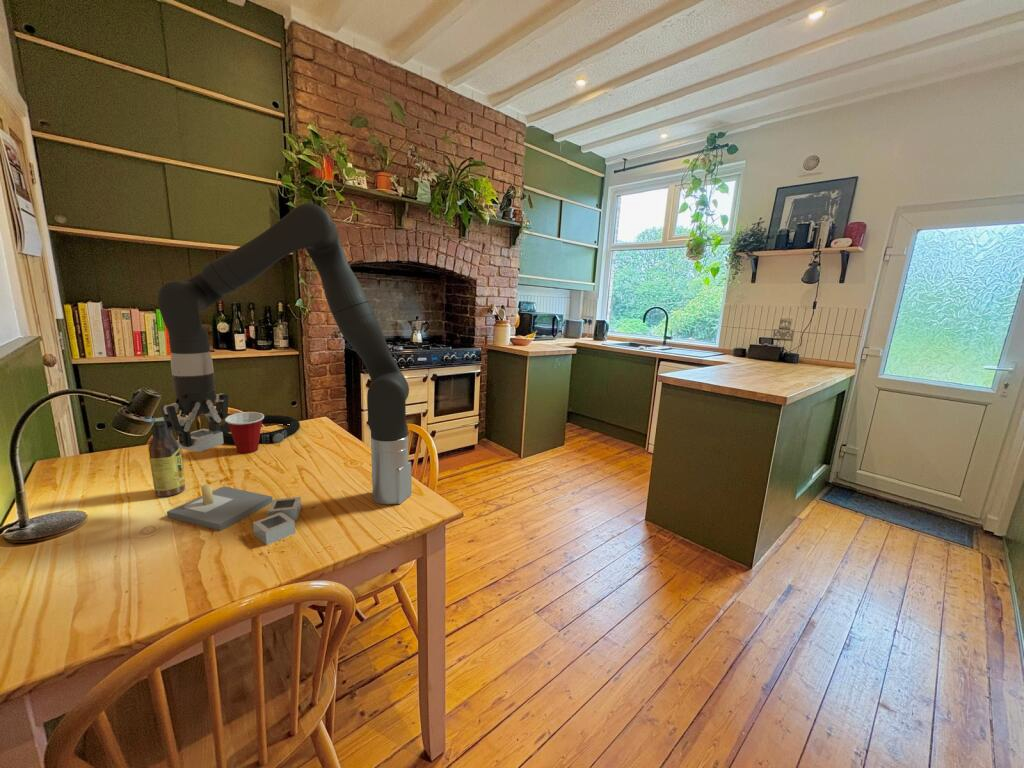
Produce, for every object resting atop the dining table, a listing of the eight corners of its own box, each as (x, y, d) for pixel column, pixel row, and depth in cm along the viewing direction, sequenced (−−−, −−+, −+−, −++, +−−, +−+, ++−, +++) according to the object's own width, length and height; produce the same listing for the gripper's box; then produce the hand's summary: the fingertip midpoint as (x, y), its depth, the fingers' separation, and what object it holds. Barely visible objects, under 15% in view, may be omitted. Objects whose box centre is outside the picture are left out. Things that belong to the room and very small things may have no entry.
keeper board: (272, 501, 104) (270, 480, 103) (220, 530, 91) (217, 505, 90) (224, 491, 108) (222, 470, 107) (167, 517, 95) (164, 493, 94)
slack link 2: (282, 523, 95) (281, 511, 94) (295, 533, 91) (294, 520, 91) (254, 534, 90) (253, 522, 89) (266, 545, 86) (265, 532, 86)
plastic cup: (231, 459, 128) (227, 423, 126) (225, 449, 136) (222, 414, 134) (270, 452, 136) (267, 417, 133) (263, 442, 143) (260, 410, 141)
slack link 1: (301, 507, 102) (300, 496, 101) (297, 520, 96) (296, 508, 96) (274, 510, 100) (273, 499, 99) (268, 523, 94) (267, 511, 94)
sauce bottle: (188, 492, 107) (179, 419, 103) (157, 500, 102) (146, 424, 98) (183, 484, 111) (174, 414, 107) (153, 491, 107) (142, 418, 103)
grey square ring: (223, 443, 98) (222, 431, 98) (198, 452, 92) (197, 439, 92) (204, 440, 100) (203, 428, 99) (178, 448, 94) (177, 435, 93)
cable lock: (280, 410, 172) (316, 425, 154) (280, 418, 173) (317, 434, 155) (201, 423, 150) (233, 443, 133) (202, 433, 151) (234, 454, 133)
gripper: (171, 378, 85) (181, 454, 88) (235, 368, 98) (241, 434, 102) (145, 375, 87) (156, 449, 90) (211, 365, 100) (218, 430, 104)
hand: (201, 441), depth 96 cm, fingers closed on grey square ring, 6 cm apart
